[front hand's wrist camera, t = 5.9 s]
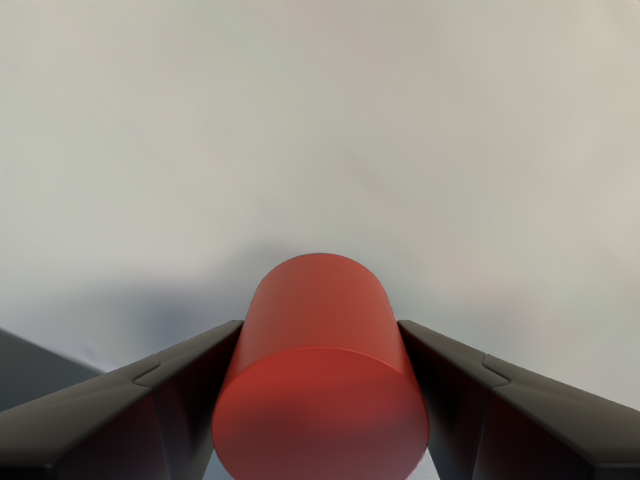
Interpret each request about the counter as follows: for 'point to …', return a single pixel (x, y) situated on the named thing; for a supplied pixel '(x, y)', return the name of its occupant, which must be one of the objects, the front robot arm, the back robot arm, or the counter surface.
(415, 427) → the canister
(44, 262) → the counter surface
